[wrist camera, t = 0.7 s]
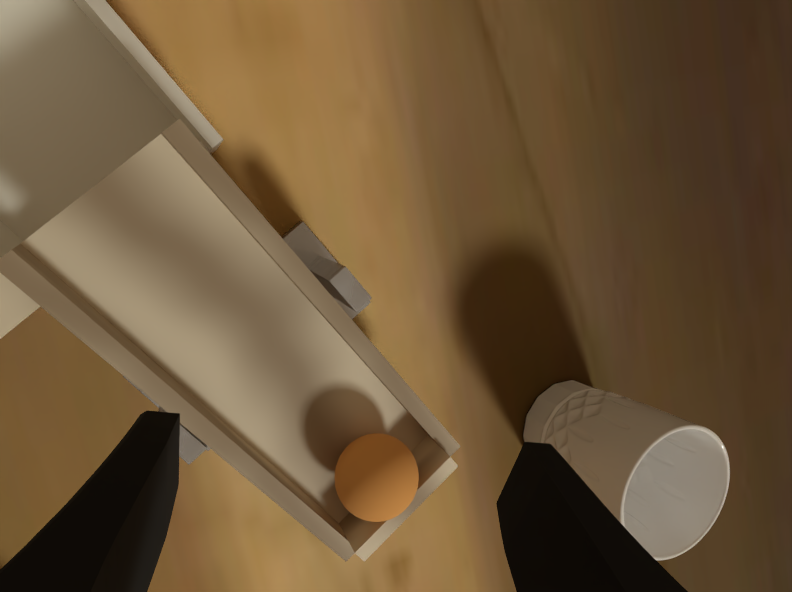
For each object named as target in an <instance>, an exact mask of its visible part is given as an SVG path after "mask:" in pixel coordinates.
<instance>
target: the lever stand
mask: <svg viewBox="0 0 792 592" xmlns="http://www.w3.org/2000/svg"><path fill="white" fill-rule="evenodd" d="M282 239H283V240H284V241H285V242H286V243H287V244H288V246H289V247H290V248H291V249H292V250H293V251H294V253H295V254H296V255H297V256H298V257H299V258H300V260H301V261H302V262H303V263H304V264H305V265H306V267H307V268H308V269H309V270H310V271H311V272H312V274H313V275H314V276H315V277H316V278H317V279H318V281H319V282H320V283H321V284H322V285H323V286H324V288H325V289H326V290H327V291H328V292H329V293H330V295H331V296H332V297H333V298H334V299H335V300H336V302H337V303H338V304H339V305H340V306H341V307H342V309H343V310H344V311H345V312H346V313H347V314H348V316H349V317H350V318H351V319H353V318H354V317H355V316H356V315H357V314H358V313H360V312H361V311H362V310H363V309H364V308H365V307H366V306H367V305H368V304H369V303H370V301H369V300H370V299H371V296H370V295H369V294H368V293H367V292H366V290H365V289H364V288H363V287H362V286H361V284H360V283H359V282H358V281H357V280H356V278H355V277H354V276H353V275H352V274H351V272H350V271H349V270H348V269H347V268H346V266H343V265H341V264H338V263H337V261H336V260H335V259H334V258H333V257H332V255H331V254H330V253H329V252H328V251H327V249H326V248H325V247H324V246H323V245H322V243H321V242H320V241H319V240H318V239H317V238H316V236H315V235H314V234H313V233H312V232H311V230H310V229H309V228H308V227H307V226H306V224H305V223H304V222H303V221H300V222H299V223H297V224H296V225H295V226H294V227H293V228H292V229H290V230H289V231H288V232H287V233H286V234H285V235H283V236H282ZM123 377H124V378H125V379H127V378H126V377H125V376H123ZM127 380H128V379H127ZM128 381H129V380H128ZM129 382H130V383H131V384H132V385H133V386H135V385H134V384H133V383H132V382H131V381H129ZM135 387H136V388H137V389H138V390H139V391H140V392H141V393H142V394H144V395H145V396H146V397H147V398H148V399H149V400H150V401H152V402H153V403H154V404H155V405H156V406H157V407H158V408H159V411H158V412H166V411H165V410H164V409H163V408H162V407H160V406H159V405H158V404H157V403H156V402H154V401H153V400H152V399H151V398H150V397H148V396H147V395H146V394H145V393H144V392H143V391H141V390H140V389H139V388H138V387H137V386H135ZM210 449H211V448H210V447H208V446H207V445H206V444H205V443H204V442H202V441H201V440H200V439H199V438H198V437H196V436H195V435H194V434H193V433H192V432H190V431H189V430H188V429H187V428H186V427H184V426H183V425H182V424H181V423H180V438H179V456H180V457H181V458H182V459H183V460H184V461H186V462H187V463H188V464H190V463H191V462H193V461H194V460H195V459H196V458H197V457H198V456H199V455H200V454H201V453H202V452H204V451H205V450H207V451H209V450H210Z"/></svg>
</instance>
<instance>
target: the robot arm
mask: <svg viewBox="0 0 792 592" xmlns="http://www.w3.org/2000/svg"><path fill="white" fill-rule="evenodd" d="M179 438H180V413H169V412H156V411H146V412H144V413H142V414H141V415H140V416H139V417H138V419H137V420H136V422H135V423H134V424H133V426H132V427H131V428H130V430H129V431H128V432H127V434H126V435H125V436H124V437H123V439H122V440H121V441H120V443H119V444H118V445H117V446H116V448H115V449H114V450H113V451H112V452H111V454H110V455H109V456H108V457H107V458H106V460H105V461H104V462H103V463H102V464H101V466H100V467H99V468H98V469H97V470H96V471H95V472H94V474H93V475H92V476H91V477H90V478H89V479H88V480H87V481H86V483H85V484H84V485H83V486H82V487H81V488H80V489H79V490H78V491H77V493H76V494H75V495H74V496H73V497H72V498H71V499H70V500H69V501H68V503H67V504H66V505H65V506H64V507H63V508H62V509H61V510H60V511H59V512H58V513H57V514H56V515H55V516H54V517H53V518H52V519H51V520H50V521H49V522H48V523H47V524H46V525H45V526H44V527H43V528H42V529H41V530H40V531H39V532H38V533H37V534H36V535H35V536H34V537H33V538H32V539H31V540H30V541H29V542H28V544H27V545H26V546H25V547H24V548H22V549H21V550H20V551H19V552H18V553H17V554H16V555H15V556H14V557H13V558H12V559H11V560H10V561H9V562H8V563H7V564H6V565H5V566H4V567H3V568H1V569H0V592H147V590H148V587H149V585H150V582H151V579H152V576H153V573H154V570H155V567H156V564H157V562H158V559H159V556H160V553H161V550H162V547H163V544H164V541H165V538H166V535H167V531H168V527H169V523H170V519H171V515H172V510H173V506H174V502H175V497H176V493H177V489H178V482H179ZM497 510H498V516H499V522H500V529H501V534H502V539H503V544H504V550H505V553H506V557H507V560H508V564H509V567H510V570H511V574H512V577H513V581H514V584H515V587H516V591H517V592H688V591H686V590H685V589H684V588H683V587H682V586H681V585H680V584H679V583H678V582H677V581H676V580H675V579H674V578H673V577H672V576H671V575H670V574H669V573H668V572H667V571H666V570H665V569H664V568H663V567H662V566H661V565H660V564H659V563H658V562H657V561H656V560H655V559H654V558H653V557H652V556H651V555H650V554H649V553H648V552H647V551H646V550H645V549H644V548H643V547H642V546H641V544H640V543H639V542H638V541H637V540H636V539H635V538H634V537H633V536H632V535H631V534H630V533H629V532H628V531H627V529H626V528H625V527H624V526H623V525H622V524H621V523H620V522H619V521H618V520H617V518H616V517H615V516H614V515H613V514H612V513H611V512H610V511H609V510H608V508H607V507H606V506H605V505H604V504H603V503H602V502H601V500H600V499H599V498H598V497H597V496H596V495H595V494H594V492H593V491H592V490H591V489H590V488H589V487H588V486H587V484H586V483H585V482H584V481H583V480H582V479H581V477H580V476H579V475H578V474H577V473H576V472H575V471H574V469H573V468H572V467H571V466H570V465H569V464H568V463H567V461H566V460H565V459H564V458H563V457H562V456H561V455H560V454H559V452H558V451H557V450H556V449H555V448H554V447H553V446H552V445H551V444H548V443H535V442H525V443H524V445H523V447H522V449H521V451H520V453H519V456H518V458H517V460H516V462H515V464H514V466H513V468H512V471H511V473H510V475H509V477H508V479H507V481H506V484H505V486H504V488H503V490H502V492H501V494H500V496H499V499H498V501H497Z"/></svg>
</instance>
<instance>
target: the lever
mask: <svg viewBox="0 0 792 592" xmlns="http://www.w3.org/2000/svg"><path fill="white" fill-rule="evenodd" d="M40 306H41V307H42V308H43V309H44V310H46V311H47V312H48V313H49V314H50V315H52V316H53V317H54V318H55V319H56V320H58V321H59V322H60V323H61V324H62V325H64V326H65V327H66V328H67V329H68V330H70V331H71V332H72V333H73V334H74V335H75V336H77V337H78V338H79V339H80V340H81V341H83V342H84V343H85V344H86V345H87V346H89V347H90V348H91V349H92V350H93V351H95V352H96V353H97V354H98V355H99V356H101V357H102V358H103V359H104V360H105V361H107V362H108V363H109V364H110V365H111V366H113V367H114V368H115V369H116V370H117V371H119V372H120V373H121V374H122V375H123V376H125V377H126V378H127V379H128V380H129V381H131V382H132V383H133V384H134V385H135V386H137V387H138V388H139V389H140V390H141V391H143V392H144V393H145V394H146V395H147V396H148V397H150V398H151V399H152V400H153V401H154V402H156V403H157V404H158V405H159V406H160V407H162V408H163V409H164V410H165V411H166V412H169V413H180V423H181V424H182V425H183V426H184V427H186V428H187V429H188V430H189V431H190V432H192V433H193V434H194V435H195V436H196V437H198V438H199V439H200V440H201V441H202V442H204V443H205V444H206V445H207V446H208V447H210V448H211V449H212V450H213V451H214V452H216V453H217V454H218V455H219V456H220V457H221V458H223V459H224V460H225V461H226V462H227V463H229V464H230V465H231V466H232V467H233V468H235V469H236V470H237V471H238V472H239V473H241V474H242V475H243V476H244V477H245V478H247V479H248V480H249V481H250V482H251V483H253V484H254V485H255V486H256V487H257V488H259V489H260V490H261V491H262V492H263V493H265V494H266V495H267V496H268V497H269V498H271V499H272V500H273V501H274V502H275V503H277V504H278V505H279V506H280V507H281V508H283V509H284V510H285V511H286V512H287V513H289V514H290V515H291V516H292V517H293V518H294V519H296V520H297V521H298V522H299V523H300V524H302V525H303V526H304V527H305V528H306V529H308V530H309V531H310V532H311V533H312V534H314V535H315V536H316V537H317V538H318V539H320V540H321V541H322V542H323V543H324V544H326V545H327V546H328V547H329V548H330V549H332V550H333V551H334V552H335V553H336V554H338V555H339V556H340V557H341V558H342V559H344V560H345V561H347V560H348V559H349V558H350V557H351V556H352V555H353V554H354V553H355V554H356V555H357V556H359V557H360V558H361V559H362V560H363V561H365V560H366V559H367V558H368V557H369V556H370V555H371V554H372V553H373V552H374V551H375V550H376V549H377V548H378V547H379V546H380V545H381V544H382V543H383V542H384V541H385V540H386V539H387V538H388V537H389V536H390V535H391V534H392V533H393V532H394V531H395V530H396V529H397V528H398V527H399V526H400V525H401V524H402V523H403V522H404V521H405V520H406V519H407V518H408V517H409V516H410V515H411V514H412V513H413V512H414V511H415V510H416V509H417V508H418V507H419V506H420V505H421V504H422V503H423V502H424V501H425V499H426V498H427V497H428V496H429V495H430V494H431V493H432V492H433V491H434V490H435V489H436V488H437V487H438V486H439V485H440V484H441V483H442V482H443V481H444V480H445V479H446V478H447V477H448V476H449V475H450V474H451V473H452V472H453V471H454V470H455V469H456V468H457V467H458V465H457V464H456V463H455V462H454V461H453V460H452V458H451V457H450V456H451V455H452V454H453V453H454V452H455V451H456V450H457V449H458V448H459V447H460V445H459V444H458V443H457V442H456V441H455V439H454V438H453V437H452V436H451V435H450V434H449V432H448V431H447V430H446V429H445V428H444V427H443V425H442V424H441V423H440V422H439V421H438V420H437V418H436V417H435V416H434V415H433V414H432V413H431V411H430V410H429V409H428V408H427V407H426V406H425V404H424V403H423V402H422V401H421V400H420V399H419V397H418V396H417V395H416V394H415V393H414V392H413V390H412V389H411V388H410V387H409V386H408V385H407V383H406V382H405V381H404V380H403V379H402V378H401V376H400V375H399V374H398V373H397V372H396V371H395V369H394V368H393V367H392V366H391V365H390V364H389V362H388V361H387V360H386V359H385V358H384V357H383V355H382V354H381V353H380V352H379V351H378V350H377V348H376V347H375V346H374V345H373V344H372V343H371V341H370V340H369V339H368V338H367V337H366V336H365V334H364V333H363V332H362V331H361V330H360V329H359V327H358V326H357V325H356V324H355V323H354V321H353V320H352V319H351V318H350V317H349V316H348V314H347V313H346V312H345V311H344V310H343V309H342V307H341V306H340V305H339V304H338V303H337V302H336V300H335V299H334V298H333V297H332V296H331V295H330V293H329V292H328V291H327V290H326V289H325V288H324V286H323V285H322V284H321V283H320V282H319V281H318V279H317V278H316V277H315V276H314V275H313V274H312V272H311V271H310V270H309V269H308V268H307V267H306V265H305V264H304V263H303V262H302V261H301V260H300V258H299V257H298V256H297V255H296V254H295V253H294V251H293V250H292V249H291V248H290V247H289V246H288V244H287V243H286V242H285V241H284V240H283V239H282V237H281V236H280V235H279V234H278V233H277V232H276V230H275V229H274V228H273V227H272V226H271V225H270V223H269V222H268V221H267V220H266V219H265V218H264V216H263V215H262V214H261V213H260V212H259V211H258V209H257V208H256V207H255V206H254V205H253V204H252V202H251V201H250V200H249V199H248V198H247V197H246V195H245V194H244V193H243V192H242V191H241V190H240V188H239V187H238V186H237V185H236V184H235V183H234V181H233V180H232V179H231V178H230V177H229V176H228V174H227V173H226V172H225V171H224V170H223V169H222V167H221V166H220V165H219V164H218V163H217V162H216V160H215V159H214V158H213V157H212V156H211V155H210V153H209V152H208V151H207V150H206V149H205V148H204V146H203V145H202V144H201V143H200V142H199V141H198V139H197V138H196V137H195V136H194V135H193V134H192V132H191V131H190V130H189V129H188V128H187V127H186V125H185V124H184V123H183V122H182V121H181V120H180V119H178V120H177V121H176V122H175V123H173V124H172V125H171V126H169V127H168V128H167V129H166V130H164V131H163V132H162V133H161V134H160V135H159V136H158V137H156V138H155V139H154V140H152V141H151V142H150V143H149V144H147V145H146V146H145V147H143V148H142V149H141V150H140V151H138V152H137V153H136V154H135V155H133V156H132V157H131V158H129V159H128V160H127V161H126V162H124V163H123V164H122V165H120V166H119V167H118V168H117V169H115V170H114V171H113V172H111V173H110V174H109V175H108V176H106V177H105V178H104V179H102V180H101V181H100V182H99V183H97V184H96V185H95V186H94V187H92V188H91V189H90V190H88V191H87V192H86V193H85V194H83V195H82V196H81V197H79V198H78V199H77V200H76V201H74V202H73V203H72V204H70V205H69V206H68V207H67V208H65V209H64V210H63V211H61V212H60V213H59V214H58V215H56V216H55V217H54V218H53V219H51V220H50V221H49V222H47V223H46V224H45V225H44V226H42V227H41V228H40V229H38V230H37V231H36V232H35V233H33V234H32V235H31V236H29V237H28V238H27V239H26V240H24V241H23V242H22V243H20V244H19V245H18V246H16V247H15V248H13V249H12V250H11V251H9V252H8V253H7V254H5V255H4V256H3V257H2V258H0V339H1V338H2V337H3V336H4V335H6V334H7V333H8V332H9V331H10V330H12V329H13V328H14V327H15V326H17V325H18V324H19V323H20V322H22V321H23V320H24V319H25V318H27V317H28V316H29V315H30V314H32V313H33V312H34V311H35V310H36V309H38V308H39V307H40ZM373 433H381V434H387V435H390V436H393V437H395V438H397V439H398V440H400V441H401V442H403V443H404V444H405V445H406V446H407V447H408V448H409V450H410V451H411V452H412V454H413V456H414V458H415V460H416V463H417V467H418V473H419V481H418V488H417V491H416V494H415V497H414V499H413V500H412V502H411V503H410V505H409V506H408V507H407V508H406V509H405V510H404V511H403V512H402V513H401V514H399V515H398V516H396V517H394V518H392V519H390V520H387V521H381V522H371V521H366V520H363V519H360V518H358V517H356V516H354V515H353V514H352V513H350V512H349V511H348V510H347V509H346V508H345V507H344V505H343V504H342V502H341V501H340V499H339V497H338V494H337V491H336V487H335V478H334V477H335V469H336V465H337V462H338V459H339V457H340V455H341V454H342V452H343V451H344V449H345V448H346V447H347V446H348V445H349V444H350V443H351V442H353V441H354V440H356V439H357V438H359V437H361V436H364V435H367V434H373Z"/></svg>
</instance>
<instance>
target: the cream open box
mask: <svg viewBox="0 0 792 592" xmlns="http://www.w3.org/2000/svg"><path fill="white" fill-rule="evenodd" d="M178 119H180V120H181V121H182V122H183V123H184V124H185V125H186V127H187V128H188V129H189V130H190V131H191V132H192V134H193V135H194V136H195V137H196V138H197V139H198V141H199V142H200V143H201V144H202V145H203V146H204V148H205V149H206V150H207V151H208V152H209V153H210V154H212V153H213V152H214V151H215V150H217V149H218V147H219V145H220V144H221V142H222V141H223V138H222V137H221V136H220V135H219V134H218V133H217V131H216V130H215V129H214V128H213V127H212V125H211V124H210V123H209V122H208V121H207V120H206V118H205V117H204V116H203V115H202V114H201V113H200V111H199V110H198V109H197V108H196V107H195V105H194V104H193V103H192V102H191V101H190V100H189V98H188V97H187V96H186V95H185V94H184V92H183V91H182V90H181V89H180V88H179V87H178V85H177V84H176V83H175V82H174V81H173V79H172V78H171V77H170V76H169V75H168V74H167V72H166V71H165V70H164V69H163V68H162V66H161V65H160V64H159V63H158V62H157V61H156V59H155V58H154V57H153V56H152V55H151V54H150V52H149V51H148V50H147V49H146V48H145V46H144V45H143V44H142V43H141V42H140V41H139V39H138V38H137V37H136V36H135V35H134V33H133V32H132V31H131V30H130V29H129V28H128V26H127V25H126V24H125V23H124V22H123V20H122V19H121V18H120V17H119V16H118V15H117V13H116V12H115V11H114V10H113V9H112V8H111V6H110V5H109V4H108V3H107V2H106V0H0V258H2V257H3V256H4V255H5V254H7V253H8V252H9V251H11V250H12V249H13V248H15V247H16V246H18V245H19V244H20V243H22V242H23V241H24V240H26V239H27V238H28V237H29V236H31V235H32V234H33V233H35V232H36V231H37V230H38V229H40V228H41V227H42V226H44V225H45V224H46V223H47V222H49V221H50V220H51V219H53V218H54V217H55V216H56V215H58V214H59V213H60V212H61V211H63V210H64V209H65V208H67V207H68V206H69V205H70V204H72V203H73V202H74V201H76V200H77V199H78V198H79V197H81V196H82V195H83V194H85V193H86V192H87V191H88V190H90V189H91V188H92V187H94V186H95V185H96V184H97V183H99V182H100V181H101V180H102V179H104V178H105V177H106V176H108V175H109V174H110V173H111V172H113V171H114V170H115V169H117V168H118V167H119V166H120V165H122V164H123V163H124V162H126V161H127V160H128V159H129V158H131V157H132V156H133V155H135V154H136V153H137V152H138V151H140V150H141V149H142V148H143V147H145V146H146V145H147V144H149V143H150V142H151V141H152V140H154V139H155V138H156V137H158V136H159V135H160V134H161V133H162V132H163V131H164V130H166V129H167V128H168V127H169V126H171V125H172V124H173V123H175V122H176V121H177V120H178Z"/></svg>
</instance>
